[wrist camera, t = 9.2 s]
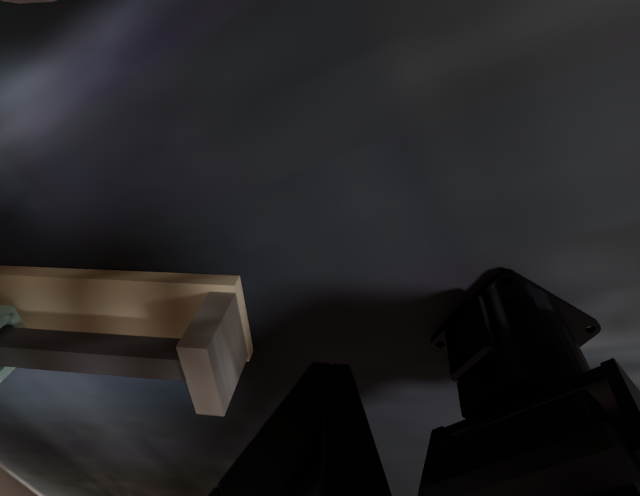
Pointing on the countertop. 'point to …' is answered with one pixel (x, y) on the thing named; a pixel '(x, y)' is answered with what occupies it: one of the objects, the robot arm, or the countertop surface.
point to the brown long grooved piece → (130, 327)
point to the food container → (28, 1)
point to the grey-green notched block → (8, 318)
